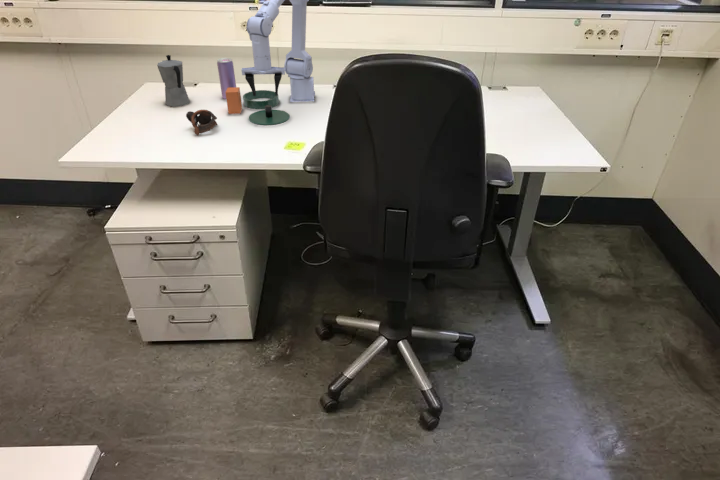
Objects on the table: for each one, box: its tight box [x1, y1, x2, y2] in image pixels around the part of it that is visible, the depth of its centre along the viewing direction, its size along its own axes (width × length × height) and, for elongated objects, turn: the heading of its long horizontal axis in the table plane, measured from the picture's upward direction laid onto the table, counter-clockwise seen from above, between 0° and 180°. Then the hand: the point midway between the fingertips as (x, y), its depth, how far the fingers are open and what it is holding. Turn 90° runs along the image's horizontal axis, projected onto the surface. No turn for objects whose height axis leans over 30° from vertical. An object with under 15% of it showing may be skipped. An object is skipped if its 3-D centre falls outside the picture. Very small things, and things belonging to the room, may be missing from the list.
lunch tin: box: [242, 89, 280, 110], centre depth 192 cm, size 13×13×4 cm
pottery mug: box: [185, 109, 219, 136], centre depth 170 cm, size 12×10×8 cm
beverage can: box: [216, 57, 237, 100], centre depth 195 cm, size 6×6×15 cm
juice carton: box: [225, 86, 243, 115], centre depth 184 cm, size 4×6×8 cm
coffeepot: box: [156, 54, 190, 108], centre depth 188 cm, size 15×9×18 cm, turn 36°
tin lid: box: [248, 105, 290, 126], centre depth 179 cm, size 14×14×5 cm
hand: (265, 95), depth 176 cm, fingers open, 7 cm apart
